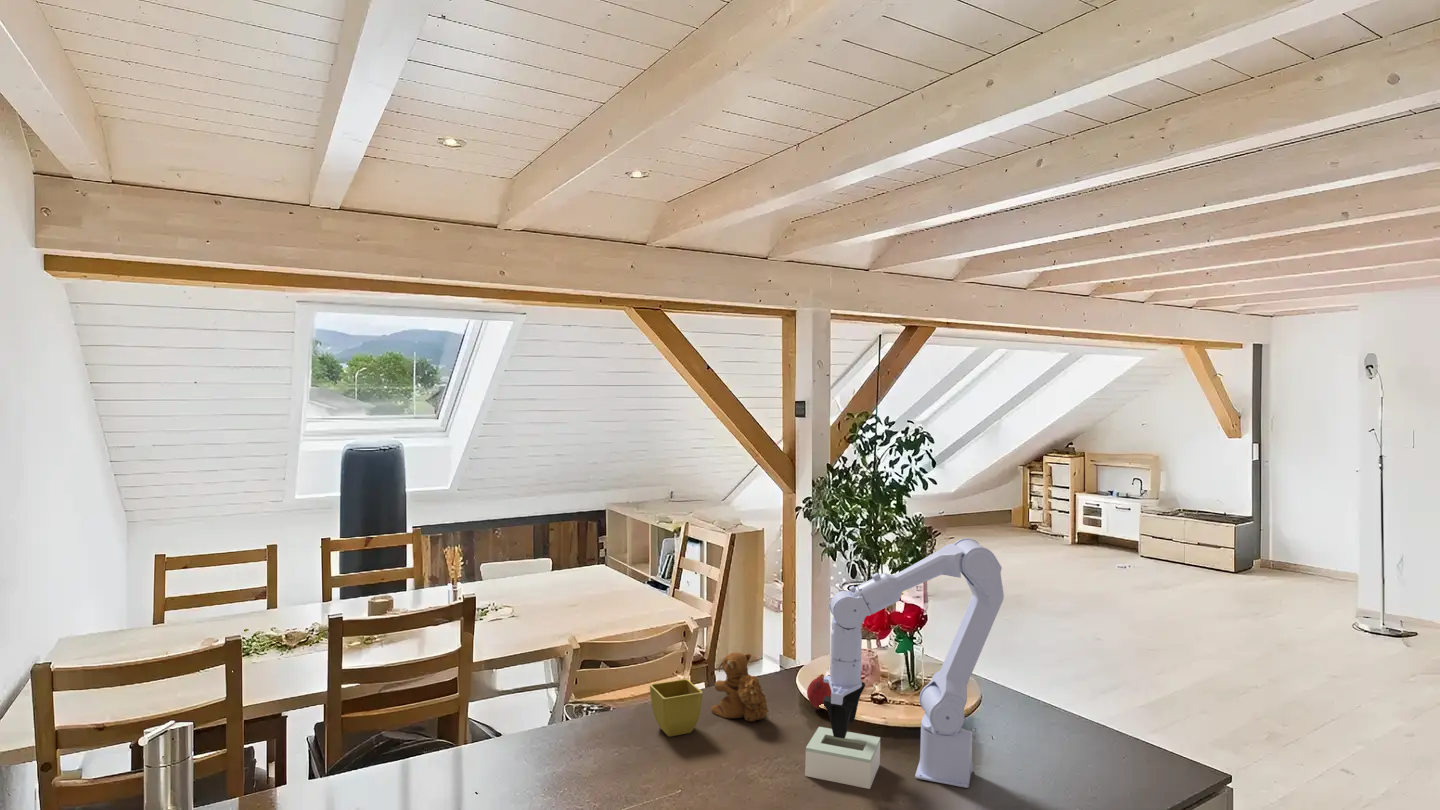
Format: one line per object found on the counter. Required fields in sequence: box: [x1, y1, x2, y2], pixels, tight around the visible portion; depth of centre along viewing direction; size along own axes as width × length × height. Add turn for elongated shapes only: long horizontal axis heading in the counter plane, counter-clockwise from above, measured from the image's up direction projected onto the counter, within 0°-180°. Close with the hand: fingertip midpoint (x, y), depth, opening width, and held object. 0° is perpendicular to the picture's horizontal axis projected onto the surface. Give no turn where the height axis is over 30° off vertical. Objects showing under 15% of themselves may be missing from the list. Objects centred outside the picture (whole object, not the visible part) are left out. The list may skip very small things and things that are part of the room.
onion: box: [806, 673, 831, 710], centre depth 179 cm, size 6×6×8 cm
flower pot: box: [649, 678, 704, 737], centre depth 167 cm, size 9×9×9 cm
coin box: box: [804, 726, 881, 790], centre depth 151 cm, size 12×10×5 cm
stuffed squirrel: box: [711, 651, 770, 723], centre depth 175 cm, size 10×14×13 cm
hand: (844, 728), depth 151 cm, fingers open, 7 cm apart
